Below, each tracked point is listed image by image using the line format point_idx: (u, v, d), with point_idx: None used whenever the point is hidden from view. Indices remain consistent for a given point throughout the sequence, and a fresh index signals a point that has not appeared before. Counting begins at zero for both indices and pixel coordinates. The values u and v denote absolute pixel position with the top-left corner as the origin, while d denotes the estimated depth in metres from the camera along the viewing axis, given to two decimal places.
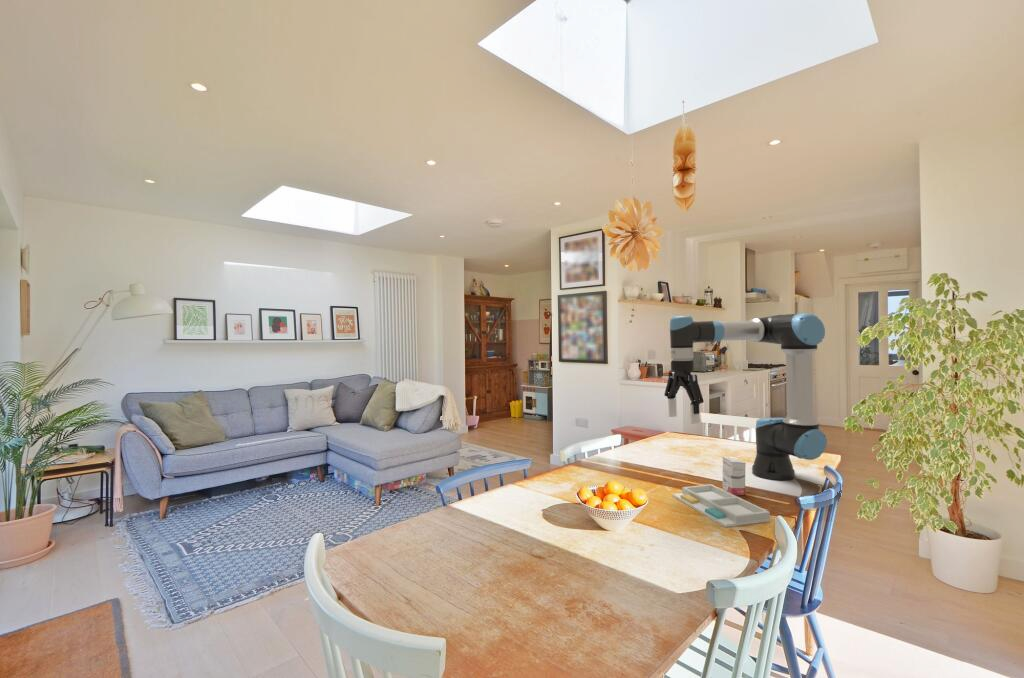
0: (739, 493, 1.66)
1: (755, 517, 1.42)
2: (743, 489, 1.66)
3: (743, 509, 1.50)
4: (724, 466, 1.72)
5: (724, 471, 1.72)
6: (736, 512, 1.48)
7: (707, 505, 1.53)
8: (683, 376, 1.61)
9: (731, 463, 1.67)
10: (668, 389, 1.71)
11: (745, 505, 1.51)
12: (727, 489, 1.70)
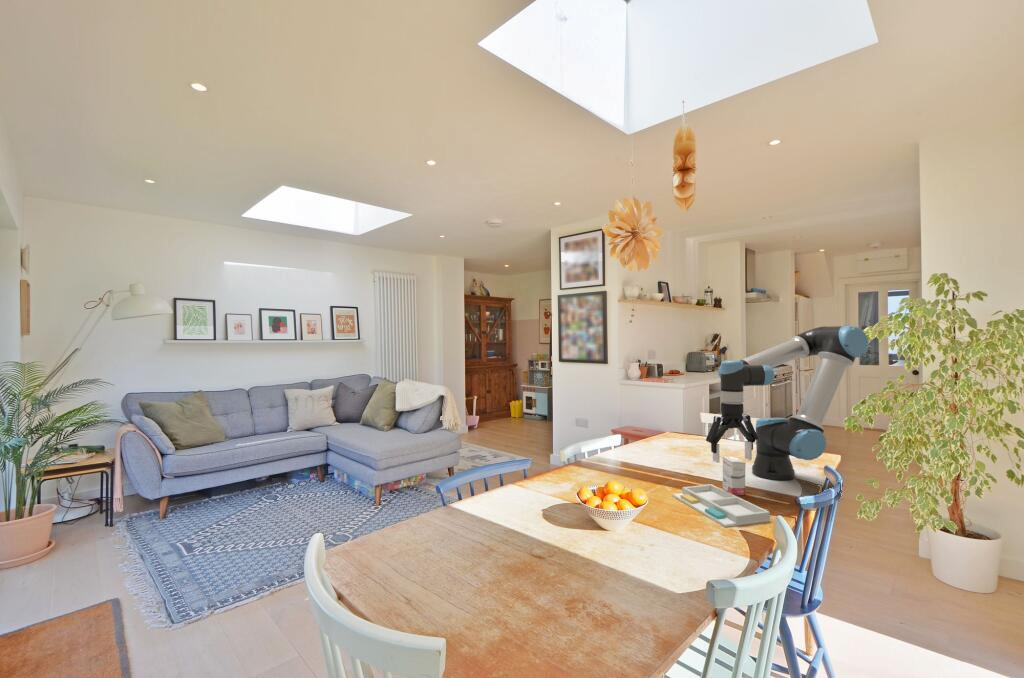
0: (739, 493, 1.66)
1: (755, 517, 1.42)
2: (743, 489, 1.66)
3: (743, 509, 1.50)
4: (724, 466, 1.72)
5: (724, 471, 1.72)
6: (736, 512, 1.48)
7: (707, 505, 1.53)
8: None
9: (731, 463, 1.67)
10: (748, 431, 1.72)
11: (745, 505, 1.51)
12: (727, 489, 1.70)
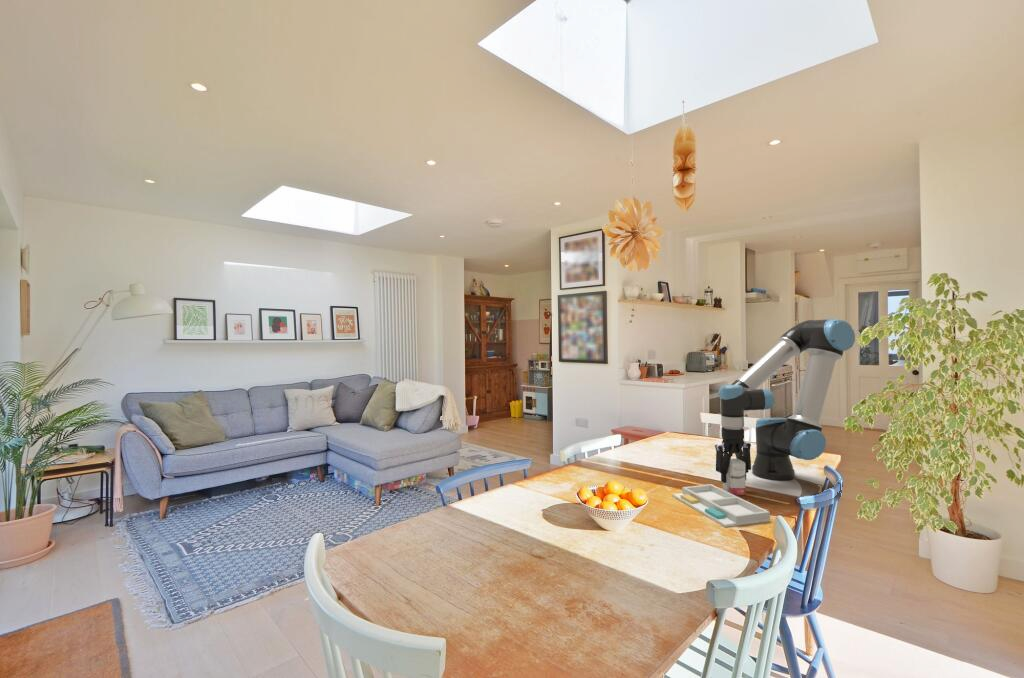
0: (739, 493, 1.66)
1: (755, 517, 1.42)
2: (743, 489, 1.66)
3: (743, 509, 1.50)
4: None
5: None
6: (736, 512, 1.48)
7: (707, 505, 1.53)
8: None
9: (731, 463, 1.67)
10: (744, 460, 1.72)
11: (745, 505, 1.51)
12: None
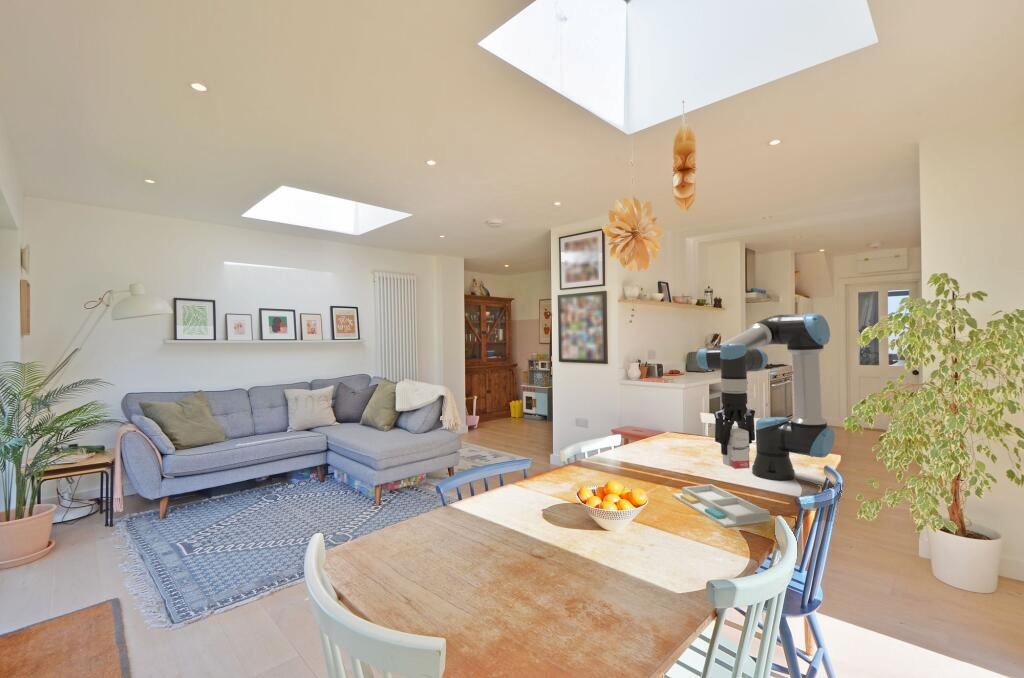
0: (743, 466, 1.44)
1: (755, 517, 1.42)
2: (747, 462, 1.44)
3: (743, 509, 1.50)
4: None
5: None
6: (736, 512, 1.48)
7: (707, 505, 1.53)
8: None
9: (732, 432, 1.45)
10: (746, 429, 1.50)
11: (745, 505, 1.51)
12: None
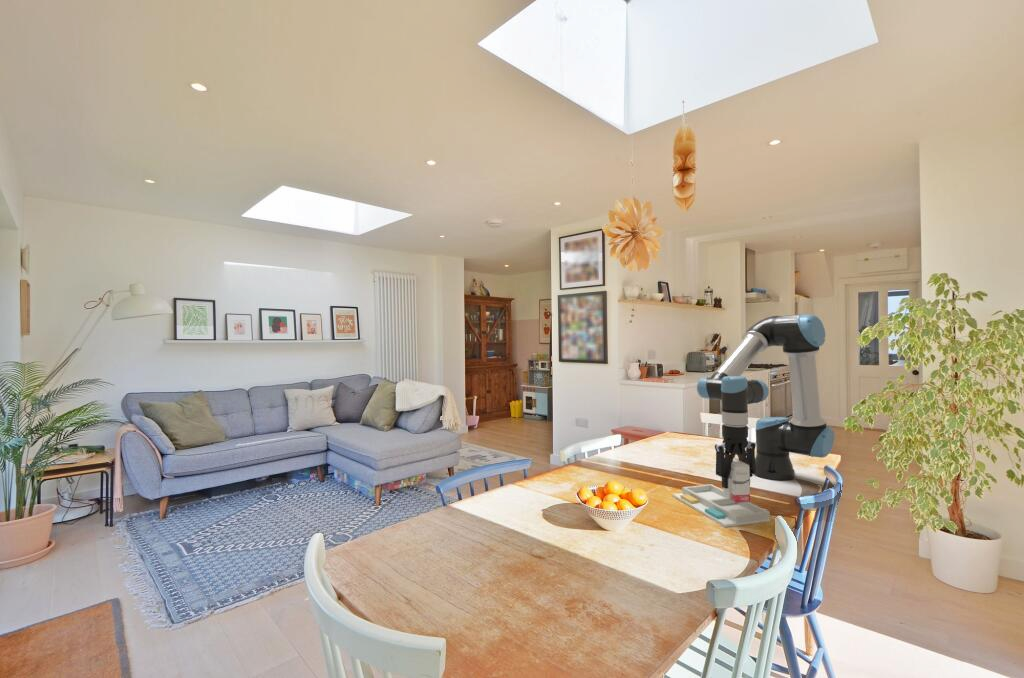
0: (743, 500, 1.44)
1: (755, 517, 1.42)
2: (748, 496, 1.44)
3: (743, 509, 1.50)
4: None
5: None
6: (736, 512, 1.48)
7: (707, 505, 1.53)
8: None
9: (733, 466, 1.45)
10: (747, 462, 1.50)
11: (745, 505, 1.51)
12: None
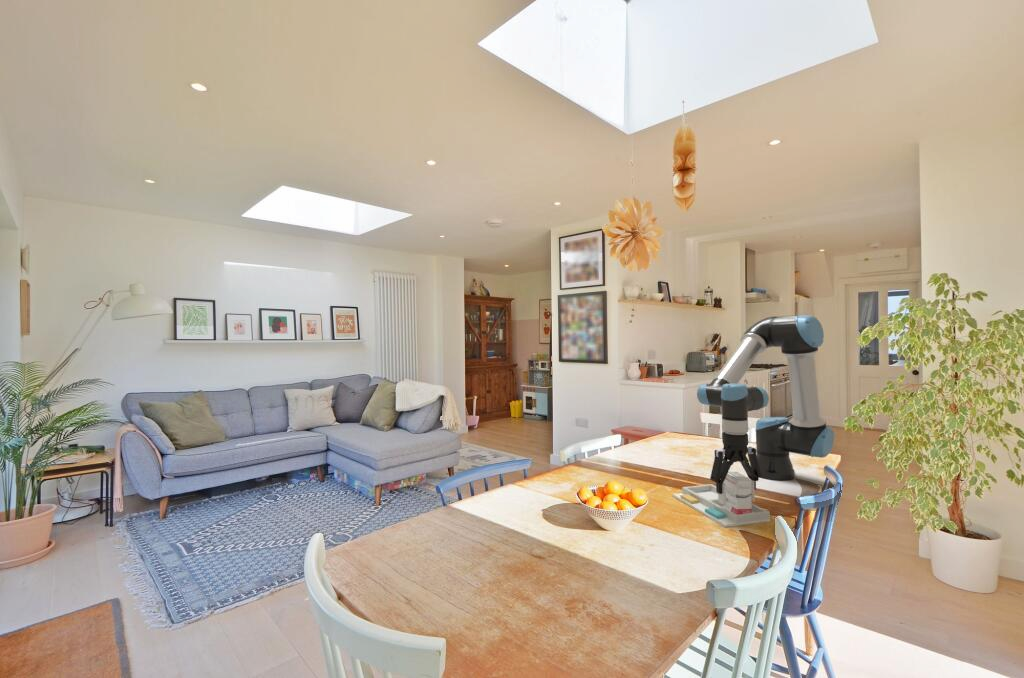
0: None
1: (755, 517, 1.42)
2: (749, 510, 1.44)
3: None
4: (726, 483, 1.50)
5: (727, 488, 1.50)
6: None
7: (707, 505, 1.53)
8: None
9: (736, 480, 1.45)
10: (751, 467, 1.51)
11: None
12: (730, 510, 1.48)
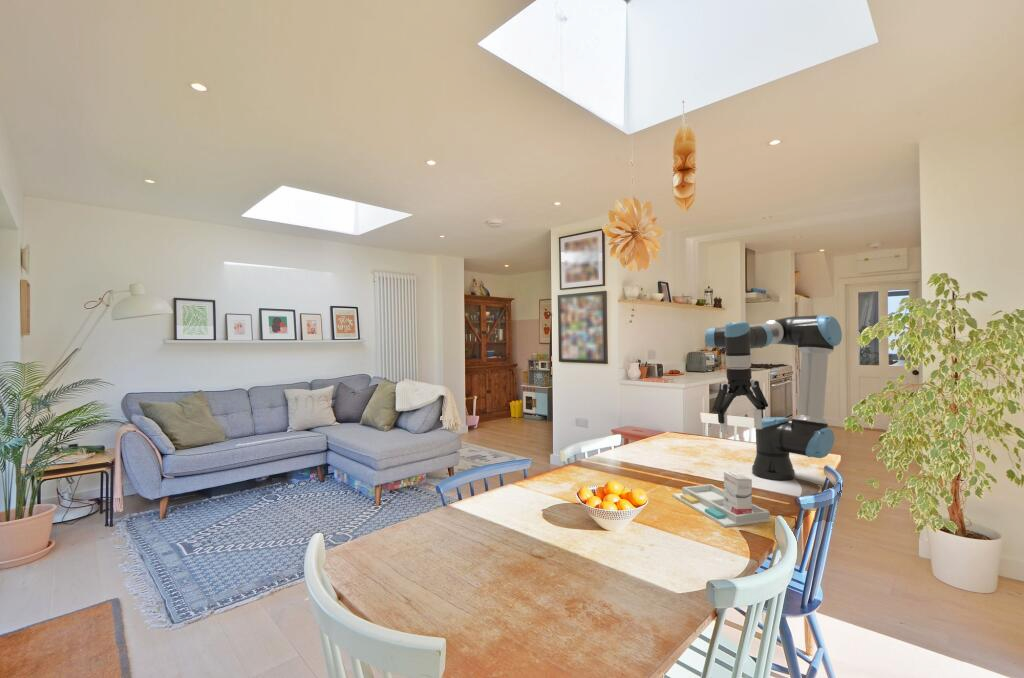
0: None
1: (755, 517, 1.42)
2: (749, 510, 1.44)
3: None
4: (726, 483, 1.50)
5: (727, 488, 1.50)
6: None
7: (707, 505, 1.53)
8: None
9: (736, 480, 1.45)
10: (757, 398, 1.58)
11: None
12: (730, 510, 1.48)
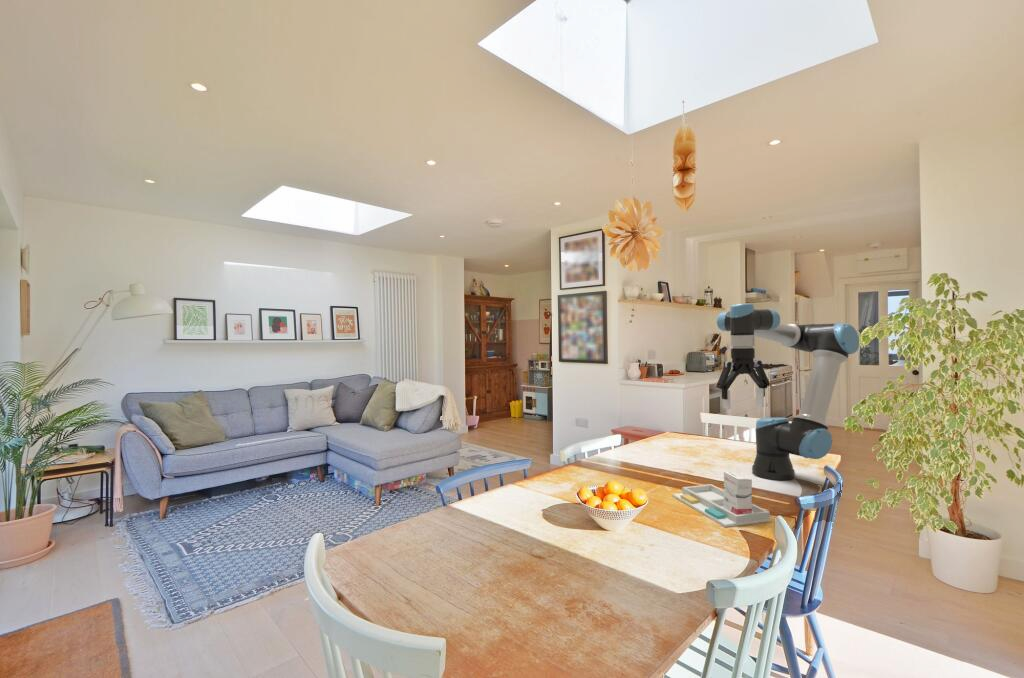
0: None
1: (755, 517, 1.42)
2: (749, 510, 1.44)
3: None
4: (726, 483, 1.50)
5: (727, 488, 1.50)
6: None
7: (707, 505, 1.53)
8: None
9: (736, 480, 1.45)
10: (760, 378, 1.66)
11: None
12: (730, 510, 1.48)
